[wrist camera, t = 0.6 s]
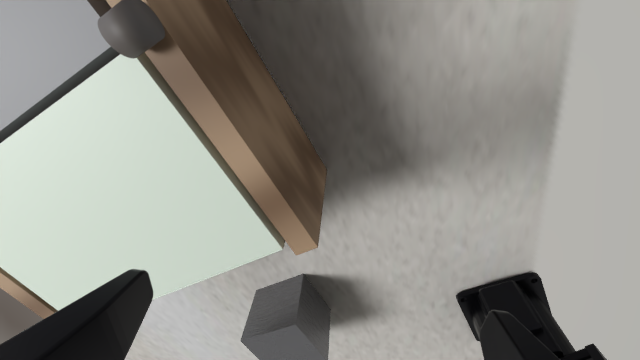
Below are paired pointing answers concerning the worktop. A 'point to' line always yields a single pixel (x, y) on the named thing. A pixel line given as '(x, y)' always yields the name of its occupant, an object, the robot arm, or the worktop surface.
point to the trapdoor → (107, 165)
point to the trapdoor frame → (221, 111)
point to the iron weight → (288, 322)
